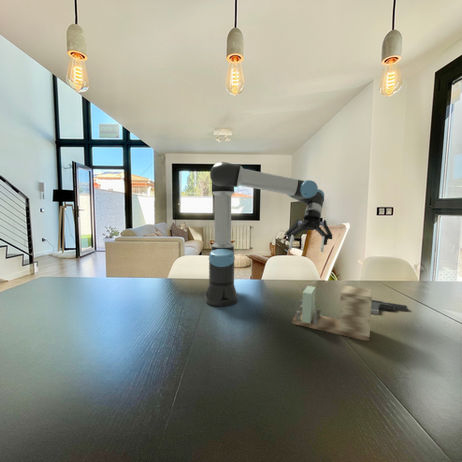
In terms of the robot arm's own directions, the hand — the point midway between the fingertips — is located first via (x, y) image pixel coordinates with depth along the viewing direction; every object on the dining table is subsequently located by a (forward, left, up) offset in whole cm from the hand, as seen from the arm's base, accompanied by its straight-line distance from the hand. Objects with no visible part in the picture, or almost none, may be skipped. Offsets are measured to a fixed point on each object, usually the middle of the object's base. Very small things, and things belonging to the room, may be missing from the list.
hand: (305, 248), depth 104 cm
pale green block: (+5, -15, -24) cm, 29 cm away
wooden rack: (+12, -15, -26) cm, 32 cm away
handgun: (+32, +13, -26) cm, 43 cm away
